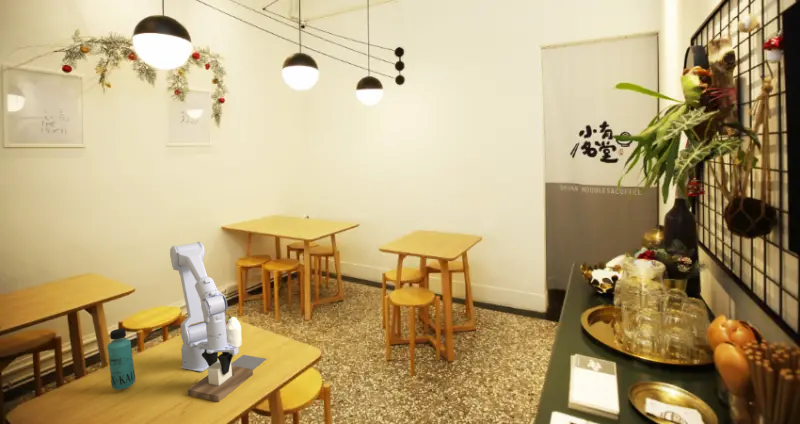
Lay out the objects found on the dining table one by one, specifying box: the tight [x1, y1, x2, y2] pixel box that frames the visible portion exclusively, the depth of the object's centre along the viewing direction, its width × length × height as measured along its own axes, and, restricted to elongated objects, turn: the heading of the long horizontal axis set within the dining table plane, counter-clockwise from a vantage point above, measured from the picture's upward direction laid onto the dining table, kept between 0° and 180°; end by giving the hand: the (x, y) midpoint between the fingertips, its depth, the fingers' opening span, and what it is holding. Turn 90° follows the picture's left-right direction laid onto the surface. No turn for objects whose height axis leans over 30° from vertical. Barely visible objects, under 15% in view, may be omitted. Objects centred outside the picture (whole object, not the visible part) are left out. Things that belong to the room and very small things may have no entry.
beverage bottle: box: [107, 328, 136, 391], centre depth 132 cm, size 6×7×20 cm
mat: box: [231, 354, 267, 370], centre depth 148 cm, size 10×8×1 cm
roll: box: [226, 316, 243, 348], centre depth 161 cm, size 6×12×6 cm
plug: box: [207, 359, 232, 386], centre depth 134 cm, size 4×6×6 cm, turn 162°
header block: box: [186, 365, 254, 403], centre depth 134 cm, size 12×16×2 cm
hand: (220, 372), depth 134 cm, fingers closed on plug, 4 cm apart
